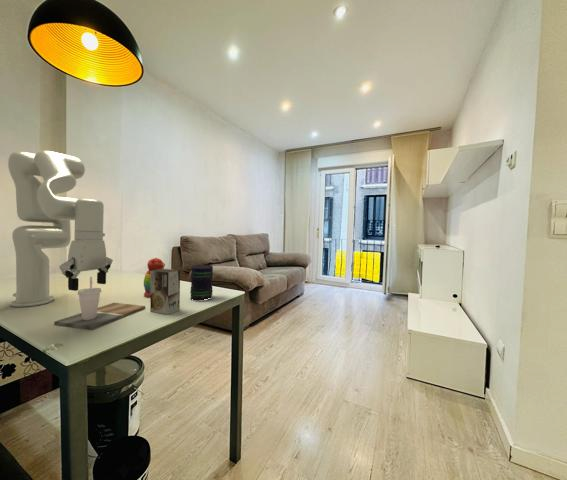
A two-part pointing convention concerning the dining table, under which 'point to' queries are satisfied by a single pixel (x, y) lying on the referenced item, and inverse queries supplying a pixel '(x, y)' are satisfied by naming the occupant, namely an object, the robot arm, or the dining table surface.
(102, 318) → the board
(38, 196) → the robot arm
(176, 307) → the coffee box
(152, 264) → the stacking bear
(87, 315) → the smoothie
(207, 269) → the storage jar
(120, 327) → the dining table surface
